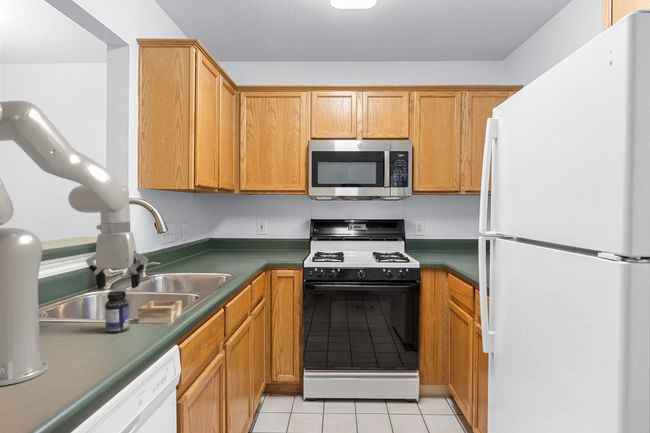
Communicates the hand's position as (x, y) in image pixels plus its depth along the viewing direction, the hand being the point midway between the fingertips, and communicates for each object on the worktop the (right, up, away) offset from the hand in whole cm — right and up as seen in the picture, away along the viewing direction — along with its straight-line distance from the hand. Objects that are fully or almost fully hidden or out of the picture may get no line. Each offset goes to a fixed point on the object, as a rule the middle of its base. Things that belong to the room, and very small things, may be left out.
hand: (118, 287), depth 119 cm
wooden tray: (+8, -12, +12) cm, 19 cm away
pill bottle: (0, -13, 0) cm, 13 cm away
